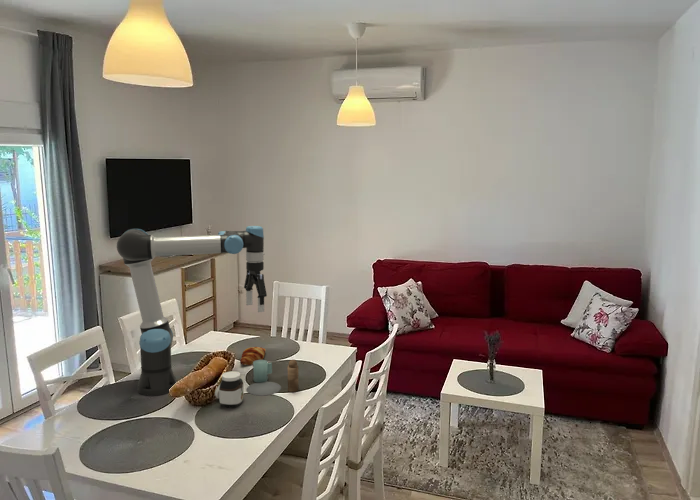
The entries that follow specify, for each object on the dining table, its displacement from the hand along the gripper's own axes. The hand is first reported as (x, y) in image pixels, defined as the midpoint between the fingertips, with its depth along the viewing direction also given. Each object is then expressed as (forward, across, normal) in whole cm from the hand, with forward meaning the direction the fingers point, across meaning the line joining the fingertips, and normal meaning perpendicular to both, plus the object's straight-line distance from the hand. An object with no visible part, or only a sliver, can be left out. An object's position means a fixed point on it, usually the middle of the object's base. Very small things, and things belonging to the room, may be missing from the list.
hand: (255, 308), depth 241 cm
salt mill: (+28, -31, -4) cm, 42 cm away
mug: (+28, -15, +4) cm, 31 cm away
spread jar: (+28, -29, +23) cm, 46 cm away
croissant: (+28, +10, -3) cm, 30 cm away
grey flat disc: (+28, -24, +6) cm, 37 cm away
